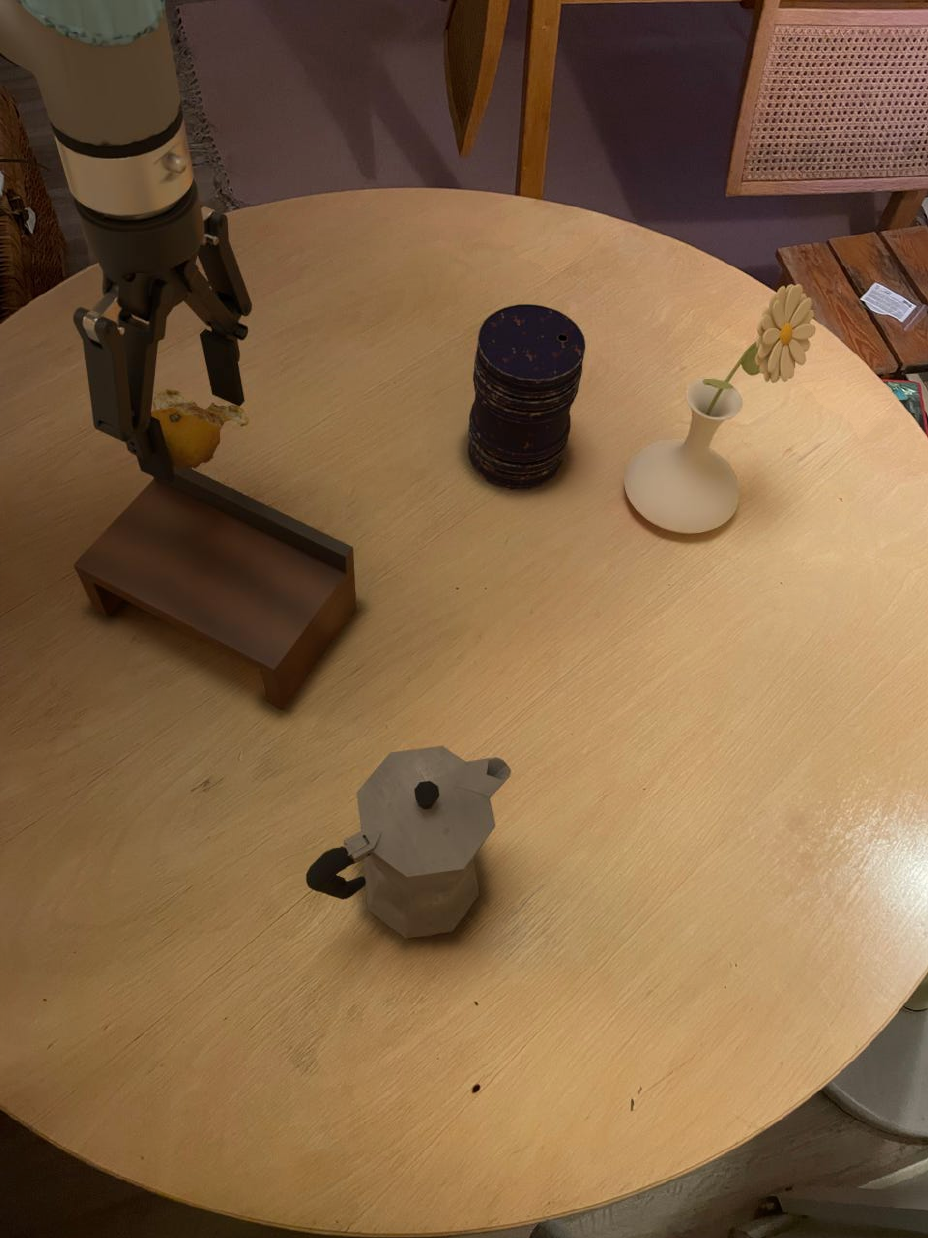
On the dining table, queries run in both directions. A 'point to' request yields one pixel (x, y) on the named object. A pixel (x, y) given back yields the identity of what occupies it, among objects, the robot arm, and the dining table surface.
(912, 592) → the dining table surface
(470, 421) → the dark blue barrel
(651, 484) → the flower in vase
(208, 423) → the fruit
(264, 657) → the shelf
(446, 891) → the coffeepot
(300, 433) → the dining table surface
